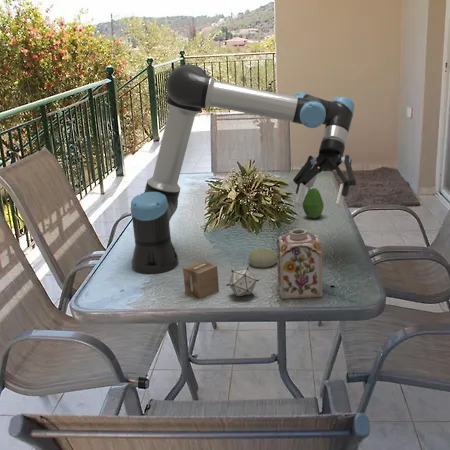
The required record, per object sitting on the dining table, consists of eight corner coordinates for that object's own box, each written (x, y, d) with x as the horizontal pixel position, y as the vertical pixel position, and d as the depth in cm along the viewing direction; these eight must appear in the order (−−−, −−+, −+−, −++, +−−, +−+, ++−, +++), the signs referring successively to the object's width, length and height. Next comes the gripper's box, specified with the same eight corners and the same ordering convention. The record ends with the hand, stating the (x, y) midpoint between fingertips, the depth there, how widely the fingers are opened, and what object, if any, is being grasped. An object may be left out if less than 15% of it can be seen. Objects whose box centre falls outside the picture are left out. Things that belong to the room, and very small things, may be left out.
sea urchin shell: (271, 266, 182) (254, 246, 183) (256, 279, 186) (240, 260, 188) (284, 255, 189) (268, 237, 190) (270, 269, 194) (254, 250, 195)
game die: (248, 309, 167) (255, 292, 159) (220, 298, 167) (225, 280, 160) (257, 284, 172) (264, 266, 164) (230, 274, 173) (236, 255, 165)
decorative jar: (322, 298, 162) (322, 237, 157) (280, 300, 163) (278, 239, 157) (317, 280, 174) (316, 223, 168) (277, 282, 174) (275, 225, 169)
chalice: (320, 206, 245) (320, 164, 239) (314, 210, 240) (313, 167, 234) (304, 204, 249) (304, 162, 243) (297, 208, 243) (296, 166, 238)
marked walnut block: (184, 293, 171) (182, 267, 169) (203, 285, 176) (201, 259, 173) (200, 299, 166) (198, 273, 164) (218, 291, 171) (217, 265, 168)
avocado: (323, 214, 234) (323, 185, 230) (323, 220, 226) (323, 190, 223) (303, 214, 235) (302, 185, 231) (302, 220, 228) (301, 191, 224)
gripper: (375, 148, 179) (361, 211, 172) (303, 150, 193) (287, 208, 187) (367, 135, 173) (352, 200, 167) (293, 138, 188) (276, 198, 181)
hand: (318, 205), depth 177 cm, fingers open, 13 cm apart
